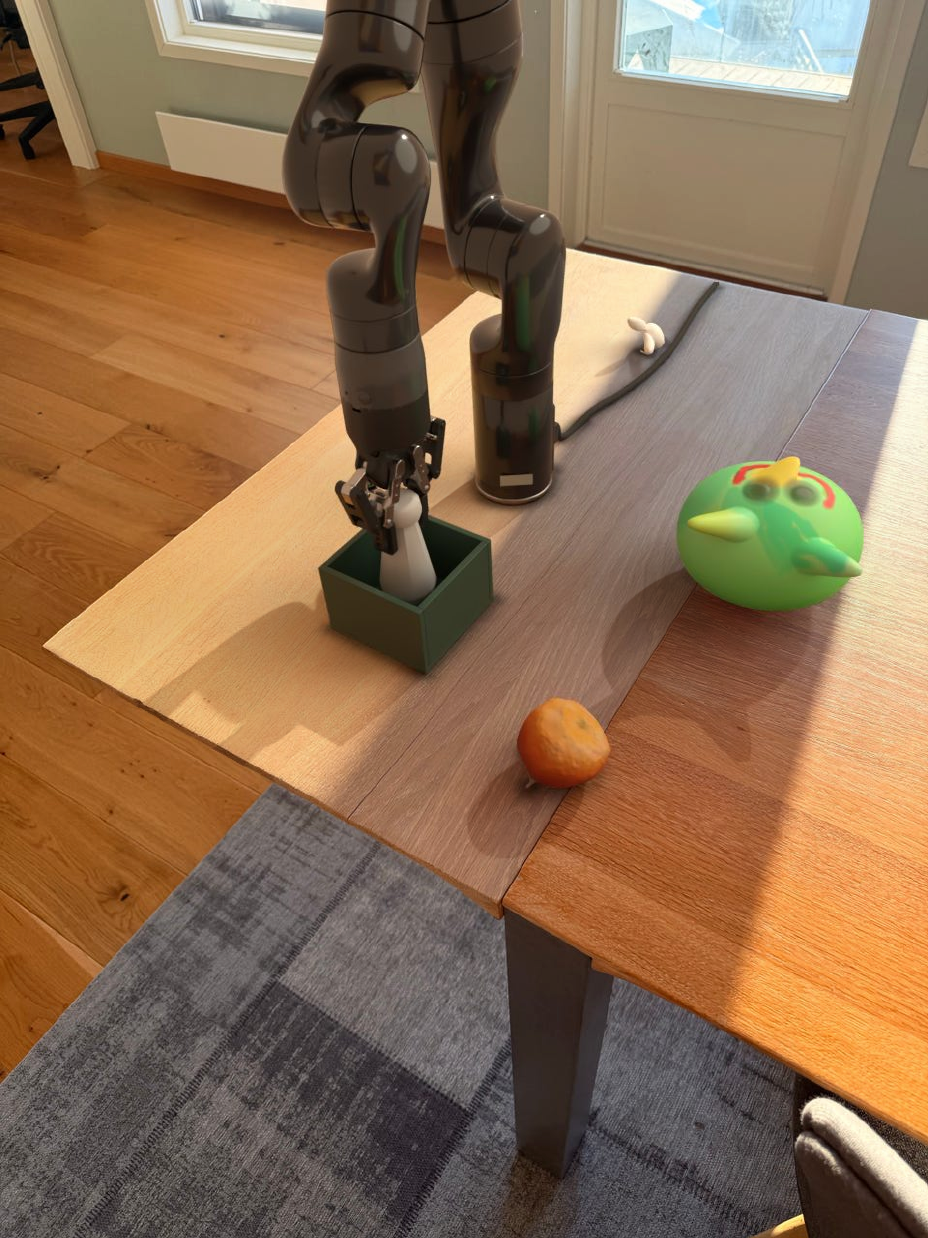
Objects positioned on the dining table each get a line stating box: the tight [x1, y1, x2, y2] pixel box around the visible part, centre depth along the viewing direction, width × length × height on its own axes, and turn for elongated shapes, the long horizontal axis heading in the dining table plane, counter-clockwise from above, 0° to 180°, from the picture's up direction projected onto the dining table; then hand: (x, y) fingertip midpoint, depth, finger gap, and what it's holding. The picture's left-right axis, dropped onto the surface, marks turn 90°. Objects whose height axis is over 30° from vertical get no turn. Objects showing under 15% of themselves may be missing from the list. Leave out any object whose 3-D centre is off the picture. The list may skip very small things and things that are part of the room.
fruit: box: [516, 697, 612, 790], centre depth 79 cm, size 8×8×8 cm
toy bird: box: [675, 455, 865, 612], centre depth 91 cm, size 18×17×15 cm
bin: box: [317, 514, 494, 675], centre depth 93 cm, size 12×12×9 cm
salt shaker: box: [377, 487, 436, 607], centre depth 90 cm, size 6×6×13 cm
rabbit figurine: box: [626, 316, 666, 356], centre depth 130 cm, size 6×4×8 cm
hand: (402, 535), depth 89 cm, fingers closed on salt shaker, 4 cm apart
